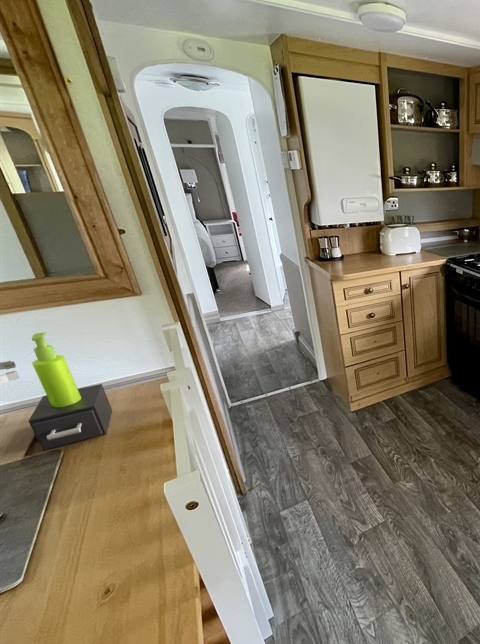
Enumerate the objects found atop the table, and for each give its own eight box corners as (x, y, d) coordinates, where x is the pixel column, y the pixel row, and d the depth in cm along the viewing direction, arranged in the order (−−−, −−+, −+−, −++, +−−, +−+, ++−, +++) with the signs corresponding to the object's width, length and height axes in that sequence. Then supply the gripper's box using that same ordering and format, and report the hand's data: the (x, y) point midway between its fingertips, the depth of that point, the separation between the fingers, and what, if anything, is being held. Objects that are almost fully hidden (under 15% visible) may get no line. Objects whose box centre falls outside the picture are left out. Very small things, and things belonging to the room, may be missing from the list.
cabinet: (106, 434, 107) (94, 405, 103) (43, 451, 100) (28, 420, 97) (112, 410, 118) (101, 383, 114) (56, 424, 111) (42, 396, 107)
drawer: (99, 442, 102) (89, 418, 100) (39, 458, 96) (27, 433, 93) (108, 412, 116) (99, 390, 113) (55, 424, 109) (45, 401, 106)
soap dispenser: (82, 392, 110) (55, 328, 102) (80, 402, 105) (52, 336, 97) (53, 399, 106) (23, 333, 99) (50, 410, 101) (18, 342, 94)
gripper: (-84, 392, 79) (14, 370, 89) (-79, 364, 91) (8, 347, 101) (-69, 418, 82) (25, 393, 92) (-65, 387, 93) (18, 368, 104)
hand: (16, 368), depth 97 cm, fingers open, 8 cm apart
